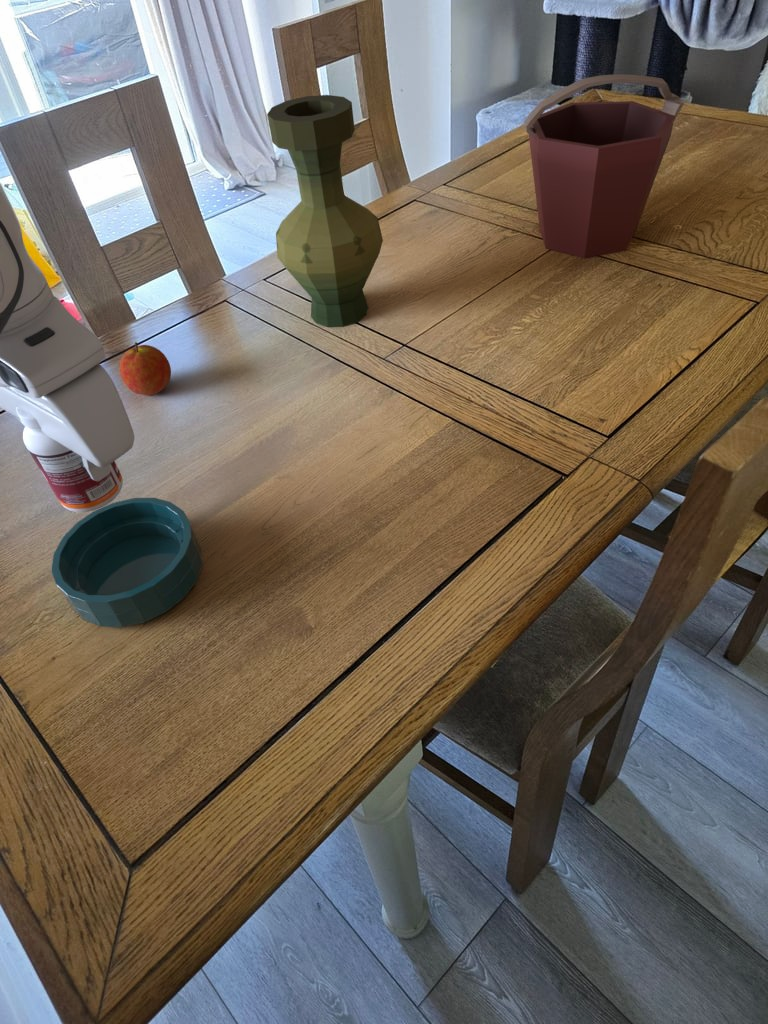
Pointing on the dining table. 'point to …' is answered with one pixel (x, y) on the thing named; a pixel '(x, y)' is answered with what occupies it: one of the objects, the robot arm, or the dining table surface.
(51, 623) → the dining table surface
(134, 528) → the bowl
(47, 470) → the pill bottle
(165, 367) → the fruit
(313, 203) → the vase
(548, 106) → the bucket
